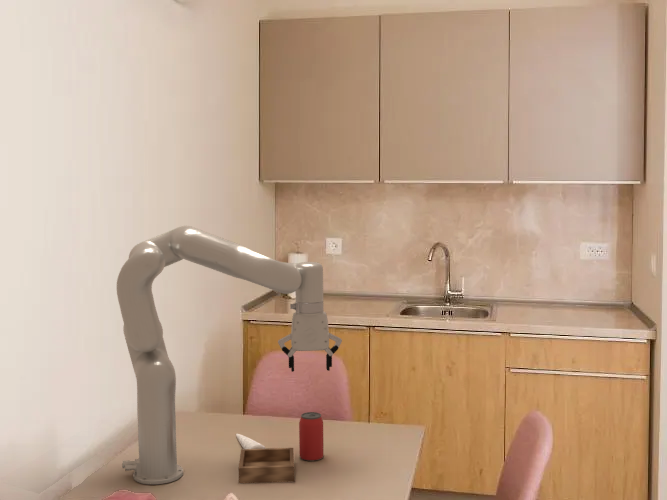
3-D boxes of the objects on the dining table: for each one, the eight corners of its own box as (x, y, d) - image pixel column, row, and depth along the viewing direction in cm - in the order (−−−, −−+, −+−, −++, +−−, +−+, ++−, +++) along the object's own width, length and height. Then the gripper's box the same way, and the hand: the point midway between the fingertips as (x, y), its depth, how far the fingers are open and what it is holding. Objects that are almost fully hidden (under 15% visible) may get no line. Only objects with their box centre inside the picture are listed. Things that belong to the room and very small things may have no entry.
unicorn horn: (248, 434, 239) (248, 418, 238) (266, 461, 216) (266, 444, 216) (233, 436, 237) (232, 420, 237) (249, 463, 215) (249, 446, 214)
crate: (238, 483, 199) (238, 468, 199) (241, 463, 213) (241, 449, 213) (294, 481, 200) (294, 466, 200) (293, 462, 214) (293, 447, 214)
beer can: (328, 456, 219) (327, 413, 218) (314, 463, 213) (314, 419, 212) (308, 452, 222) (307, 410, 221) (294, 459, 217) (294, 416, 216)
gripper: (277, 310, 210) (278, 374, 211) (342, 309, 211) (343, 372, 213) (277, 306, 217) (278, 367, 219) (340, 305, 219) (340, 366, 220)
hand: (310, 370), depth 216 cm, fingers open, 9 cm apart
